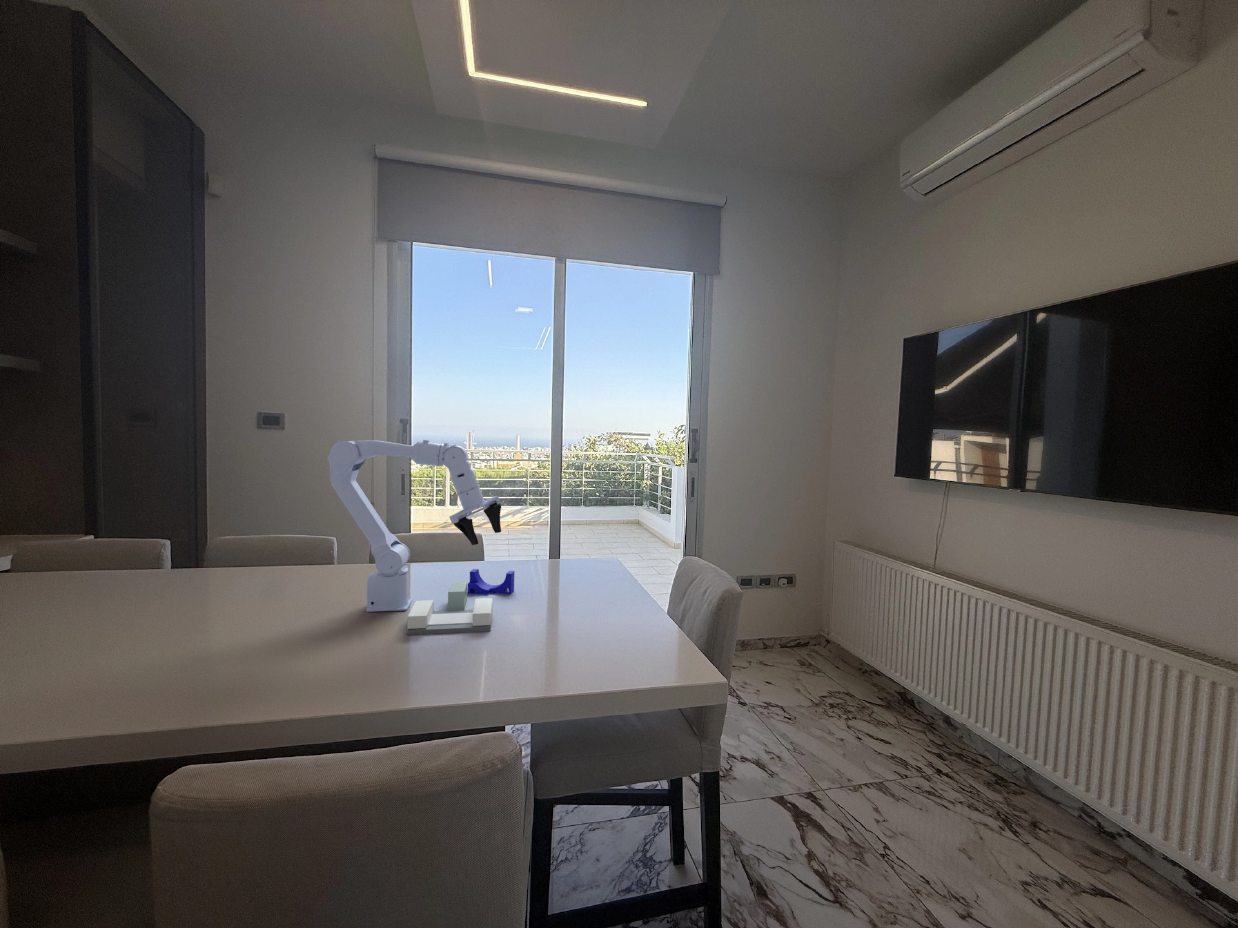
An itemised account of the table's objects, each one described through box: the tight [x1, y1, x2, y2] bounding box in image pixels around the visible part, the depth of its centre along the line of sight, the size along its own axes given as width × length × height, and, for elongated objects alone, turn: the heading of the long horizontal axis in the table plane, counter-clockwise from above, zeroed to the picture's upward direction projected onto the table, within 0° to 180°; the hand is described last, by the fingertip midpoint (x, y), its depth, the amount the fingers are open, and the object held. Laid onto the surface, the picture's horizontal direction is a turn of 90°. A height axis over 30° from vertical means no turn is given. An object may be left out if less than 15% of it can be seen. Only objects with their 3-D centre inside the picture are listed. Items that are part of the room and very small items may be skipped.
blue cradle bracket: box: [467, 568, 515, 595], centre depth 148 cm, size 12×4×6 cm, turn 85°
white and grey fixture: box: [406, 597, 493, 636], centre depth 123 cm, size 18×12×4 cm, turn 102°
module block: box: [447, 581, 468, 611], centre depth 136 cm, size 4×8×5 cm, turn 12°
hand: (487, 538), depth 137 cm, fingers open, 7 cm apart
